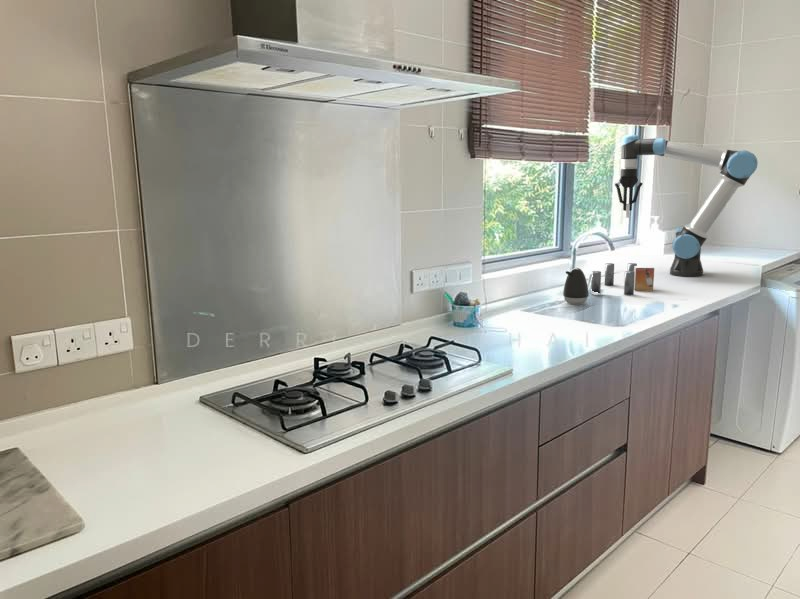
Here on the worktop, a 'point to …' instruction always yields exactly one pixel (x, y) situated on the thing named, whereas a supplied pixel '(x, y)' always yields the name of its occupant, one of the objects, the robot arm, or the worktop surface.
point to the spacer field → (610, 278)
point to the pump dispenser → (575, 287)
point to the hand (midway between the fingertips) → (627, 217)
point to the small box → (644, 278)
